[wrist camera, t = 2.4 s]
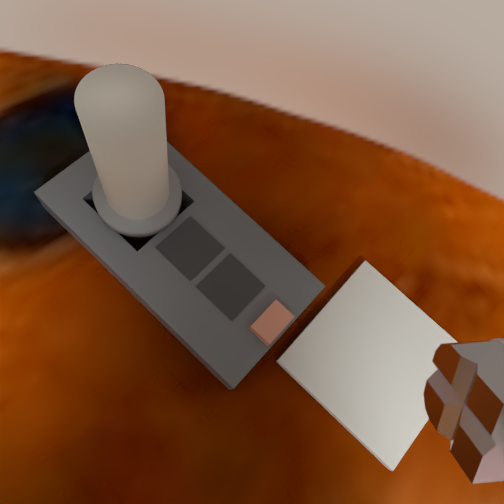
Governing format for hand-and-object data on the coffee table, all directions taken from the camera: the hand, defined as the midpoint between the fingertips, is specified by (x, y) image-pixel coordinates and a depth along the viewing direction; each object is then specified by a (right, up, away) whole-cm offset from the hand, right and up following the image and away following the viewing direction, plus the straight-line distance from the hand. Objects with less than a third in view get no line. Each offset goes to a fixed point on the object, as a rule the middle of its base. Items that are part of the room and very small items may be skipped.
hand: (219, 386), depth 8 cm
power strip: (-4, +2, +24) cm, 25 cm away
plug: (-7, +5, +25) cm, 26 cm away
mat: (+9, -5, +24) cm, 26 cm away
